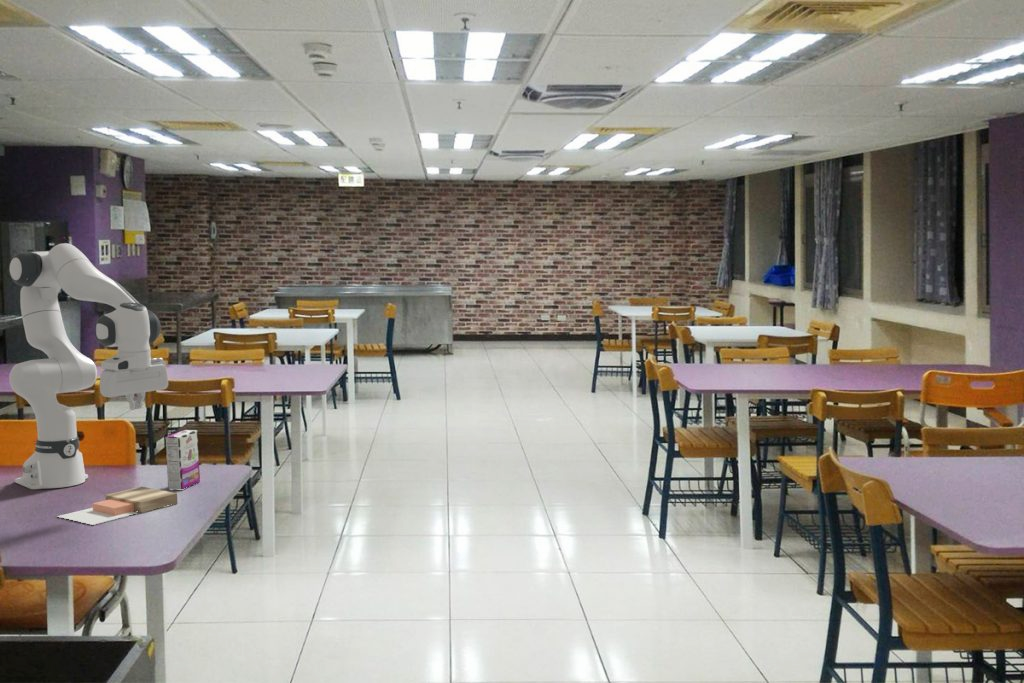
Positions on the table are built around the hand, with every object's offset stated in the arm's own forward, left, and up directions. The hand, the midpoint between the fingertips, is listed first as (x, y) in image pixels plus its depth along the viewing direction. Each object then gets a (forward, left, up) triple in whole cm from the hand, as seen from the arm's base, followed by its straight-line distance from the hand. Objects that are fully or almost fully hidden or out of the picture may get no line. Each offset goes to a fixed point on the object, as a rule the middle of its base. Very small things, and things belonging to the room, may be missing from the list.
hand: (135, 408), depth 296 cm
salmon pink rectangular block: (+4, -11, -27) cm, 29 cm away
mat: (+4, -16, -27) cm, 31 cm away
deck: (+4, -2, -27) cm, 27 cm away
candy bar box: (-4, +19, -27) cm, 33 cm away
